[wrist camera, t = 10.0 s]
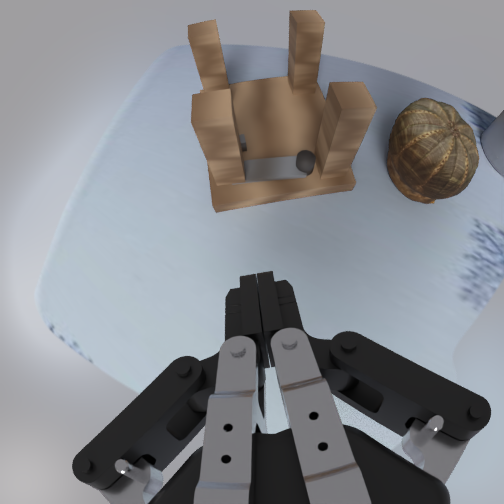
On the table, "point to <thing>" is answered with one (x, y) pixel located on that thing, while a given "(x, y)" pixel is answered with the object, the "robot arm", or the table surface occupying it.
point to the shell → (431, 152)
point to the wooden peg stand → (288, 116)
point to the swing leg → (237, 145)
